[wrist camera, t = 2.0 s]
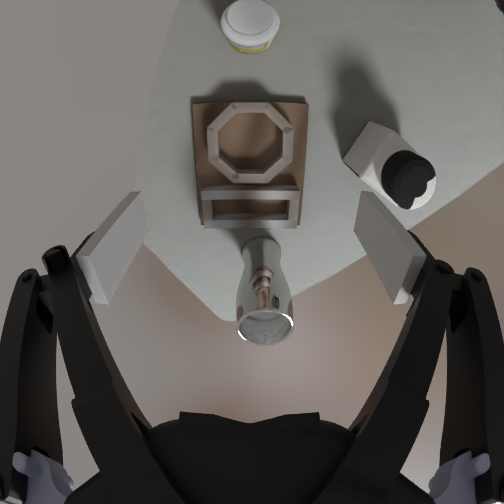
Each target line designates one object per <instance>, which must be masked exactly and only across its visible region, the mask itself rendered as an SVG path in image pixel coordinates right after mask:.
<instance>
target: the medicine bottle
mask: <svg viewBox="0 0 504 504" xmlns="http://www.w3.org/2000/svg"><path fill="white" fill-rule="evenodd" d="M343 162H344V163H345V164H346V165H347V166H348V167H349V168H350V169H351V170H352V171H353V172H354V173H355V174H356V175H357V176H358V177H359V178H360V179H361V180H363V181H364V182H366V183H367V184H368V185H370V186H371V187H372V188H374V189H375V190H376V191H378V192H379V193H380V194H381V195H383V196H384V197H385V198H387V199H388V200H389V201H390V202H392V203H393V204H394V205H395V206H400V207H401V208H404V209H408V210H412V209H416V208H419V207H421V206H423V205H424V204H425V203H427V201H428V200H429V199H430V198H431V196H432V194H433V192H434V190H435V186H436V174H435V170H434V168H433V166H432V165H431V163H430V162H429V161H428V160H426V159H425V158H423V157H421V156H420V155H419V154H418V153H417V152H416V151H415V150H414V149H413V148H412V147H411V146H410V145H409V144H408V143H407V142H406V141H405V140H404V139H403V138H402V137H401V136H399V135H398V134H397V133H396V132H395V131H394V130H392V129H389V128H387V127H384V126H382V125H379V124H377V123H374V122H372V121H369V122H368V123H367V125H366V126H365V128H364V129H363V131H362V132H361V134H360V135H359V137H358V138H357V140H356V141H355V142H354V144H353V145H352V147H351V148H350V150H349V151H348V153H347V154H346V155H345V157H344V158H343Z"/></svg>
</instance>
